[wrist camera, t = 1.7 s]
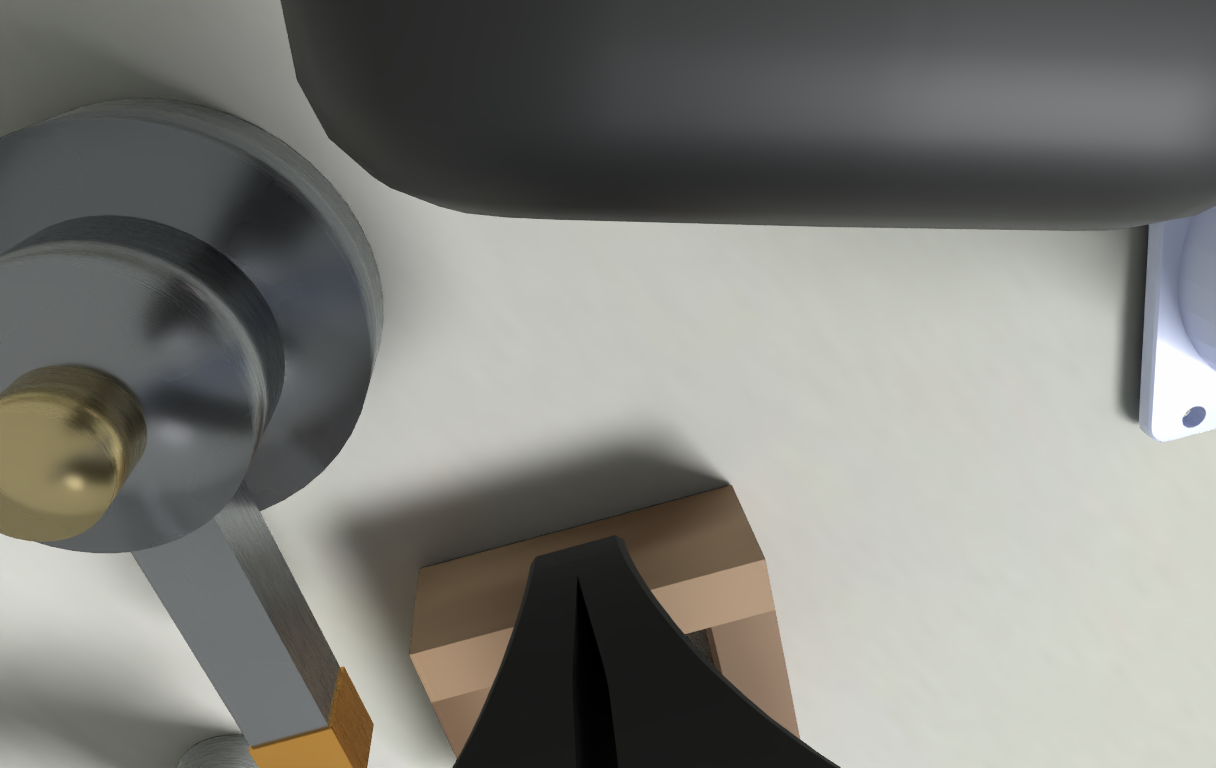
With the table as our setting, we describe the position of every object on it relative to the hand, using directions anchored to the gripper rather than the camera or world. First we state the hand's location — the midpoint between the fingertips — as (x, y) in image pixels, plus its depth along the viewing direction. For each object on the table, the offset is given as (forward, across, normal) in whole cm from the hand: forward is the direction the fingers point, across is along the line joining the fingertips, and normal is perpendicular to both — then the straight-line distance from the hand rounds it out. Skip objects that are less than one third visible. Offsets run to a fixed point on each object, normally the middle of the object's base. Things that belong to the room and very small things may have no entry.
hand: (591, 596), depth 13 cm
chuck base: (+5, +6, -4) cm, 9 cm away
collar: (+3, +6, -1) cm, 7 cm away
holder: (+5, 0, +6) cm, 8 cm away
